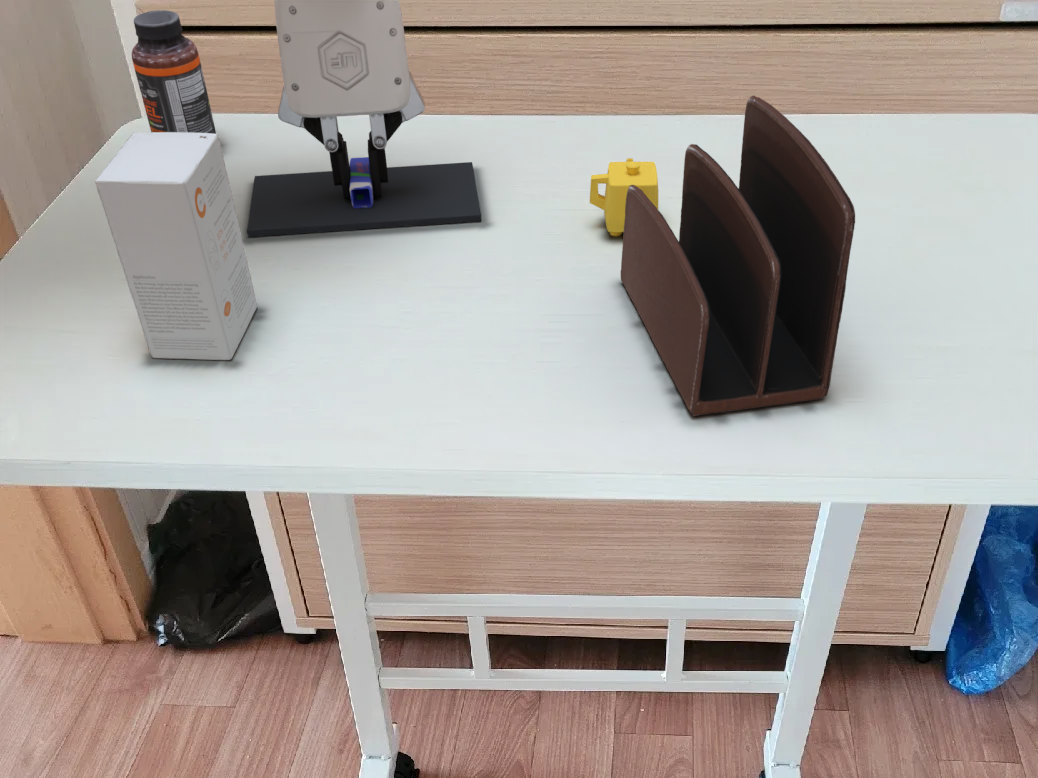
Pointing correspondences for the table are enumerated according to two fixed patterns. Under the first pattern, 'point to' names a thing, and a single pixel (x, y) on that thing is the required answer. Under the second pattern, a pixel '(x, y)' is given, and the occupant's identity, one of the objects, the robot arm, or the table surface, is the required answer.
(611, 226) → the teapot
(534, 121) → the table surface
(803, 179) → the letter holder
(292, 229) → the mat
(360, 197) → the eraser
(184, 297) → the small box
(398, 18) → the robot arm
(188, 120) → the supplement bottle
